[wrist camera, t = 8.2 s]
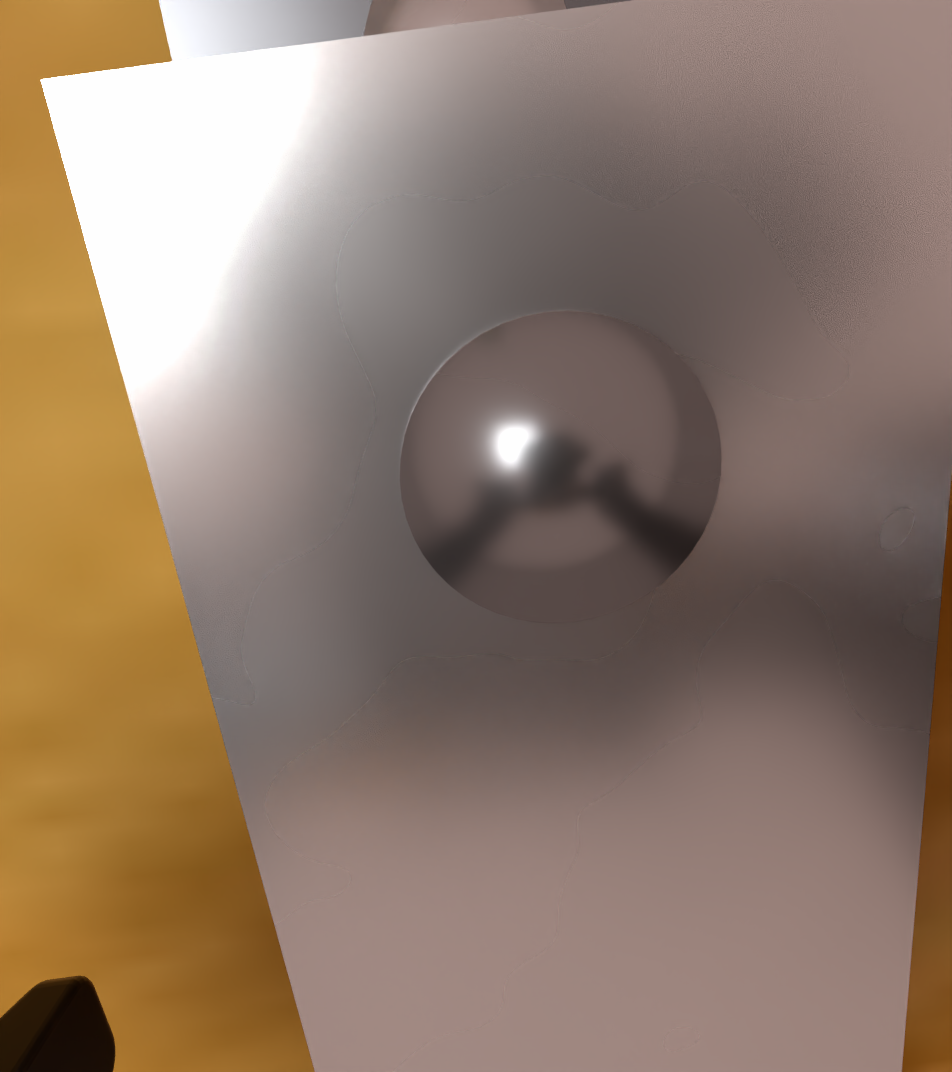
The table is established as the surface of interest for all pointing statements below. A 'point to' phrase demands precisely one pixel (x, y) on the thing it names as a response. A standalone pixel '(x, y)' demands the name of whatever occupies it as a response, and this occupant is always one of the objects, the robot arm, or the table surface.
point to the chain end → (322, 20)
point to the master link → (557, 509)
